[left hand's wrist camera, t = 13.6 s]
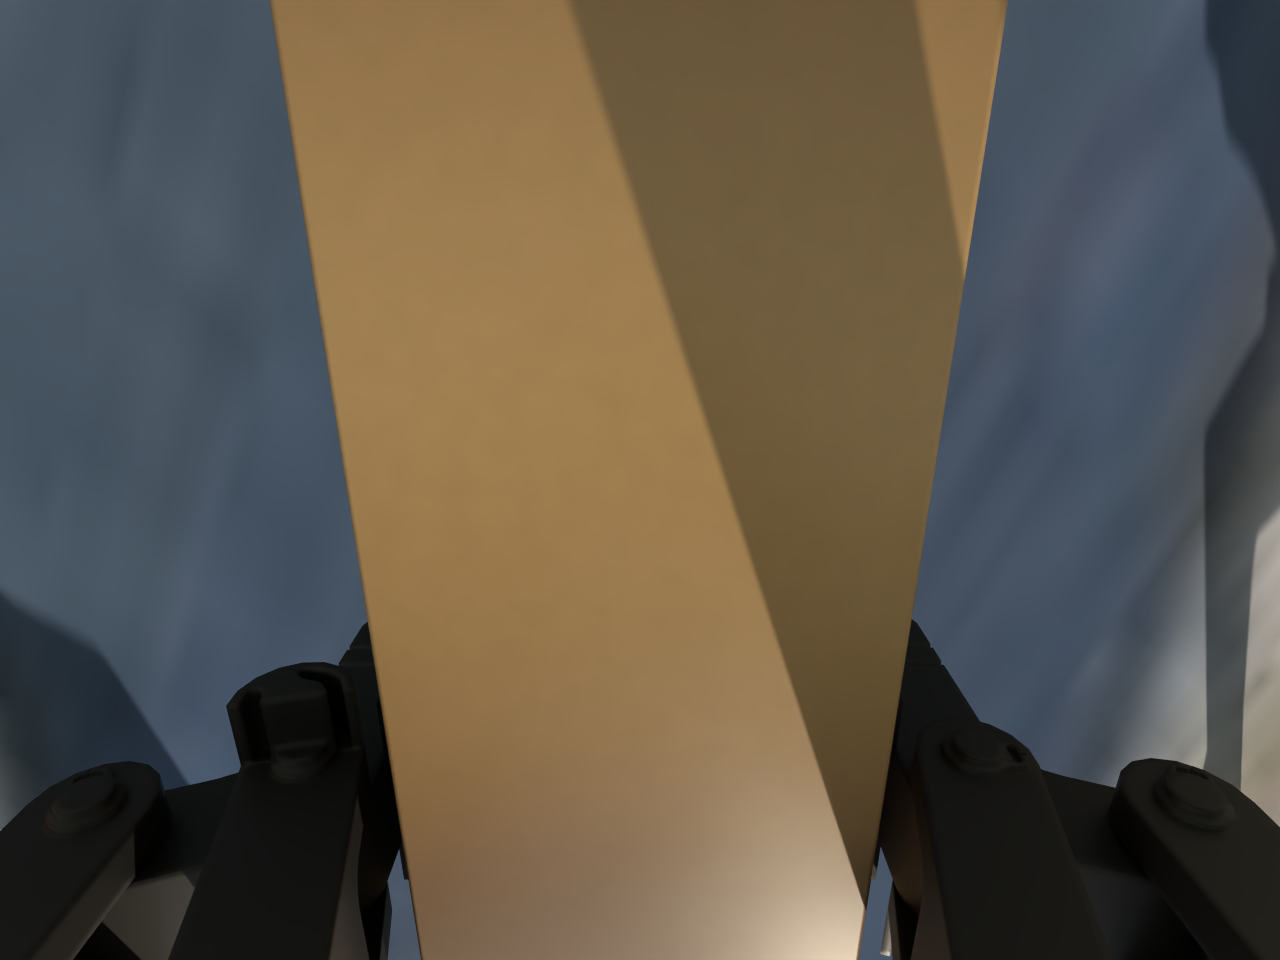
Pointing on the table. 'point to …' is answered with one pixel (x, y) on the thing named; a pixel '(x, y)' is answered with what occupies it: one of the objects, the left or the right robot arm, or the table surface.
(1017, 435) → the table surface
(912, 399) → the beam
